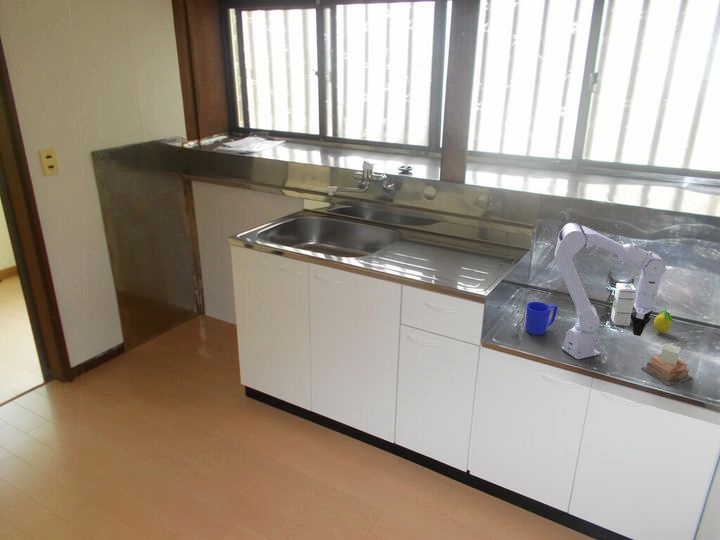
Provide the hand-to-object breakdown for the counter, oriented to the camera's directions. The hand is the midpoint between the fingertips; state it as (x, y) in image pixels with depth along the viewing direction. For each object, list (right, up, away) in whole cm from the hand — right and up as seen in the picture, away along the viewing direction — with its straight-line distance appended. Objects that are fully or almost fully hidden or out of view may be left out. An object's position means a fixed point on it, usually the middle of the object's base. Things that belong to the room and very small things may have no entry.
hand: (638, 330), depth 178 cm
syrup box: (+6, 0, +27) cm, 28 cm away
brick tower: (+6, -13, -6) cm, 15 cm away
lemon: (+17, -3, +19) cm, 26 cm away
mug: (-25, -3, +21) cm, 33 cm away
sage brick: (+5, -8, -7) cm, 12 cm away
